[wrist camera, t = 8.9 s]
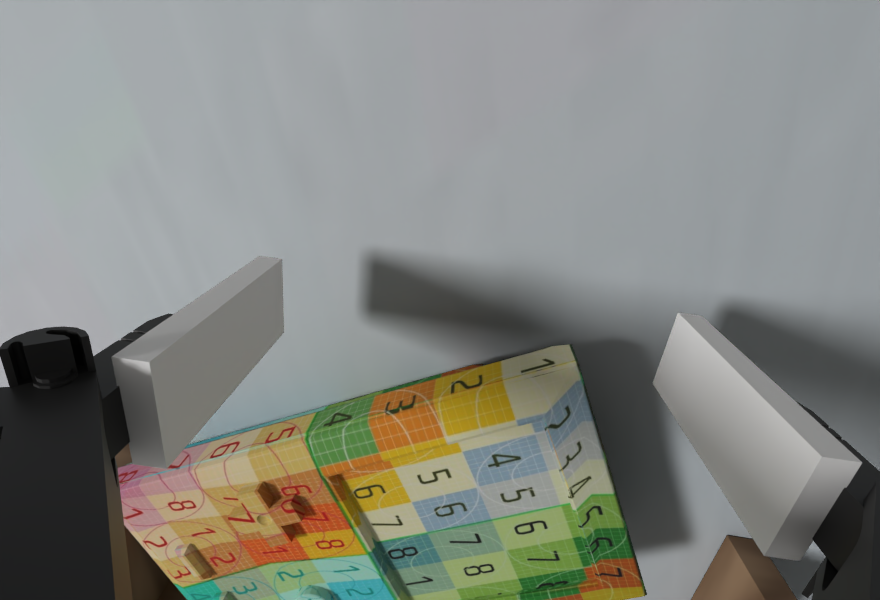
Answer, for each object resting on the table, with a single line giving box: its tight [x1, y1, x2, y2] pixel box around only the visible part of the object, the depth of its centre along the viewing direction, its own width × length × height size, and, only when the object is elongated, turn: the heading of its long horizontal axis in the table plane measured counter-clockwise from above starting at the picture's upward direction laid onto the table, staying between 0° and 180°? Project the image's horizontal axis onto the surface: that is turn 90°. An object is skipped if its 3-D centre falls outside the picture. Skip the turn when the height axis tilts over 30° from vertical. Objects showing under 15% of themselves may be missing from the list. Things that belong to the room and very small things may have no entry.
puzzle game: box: [118, 344, 647, 600], centre depth 20 cm, size 12×5×20 cm
